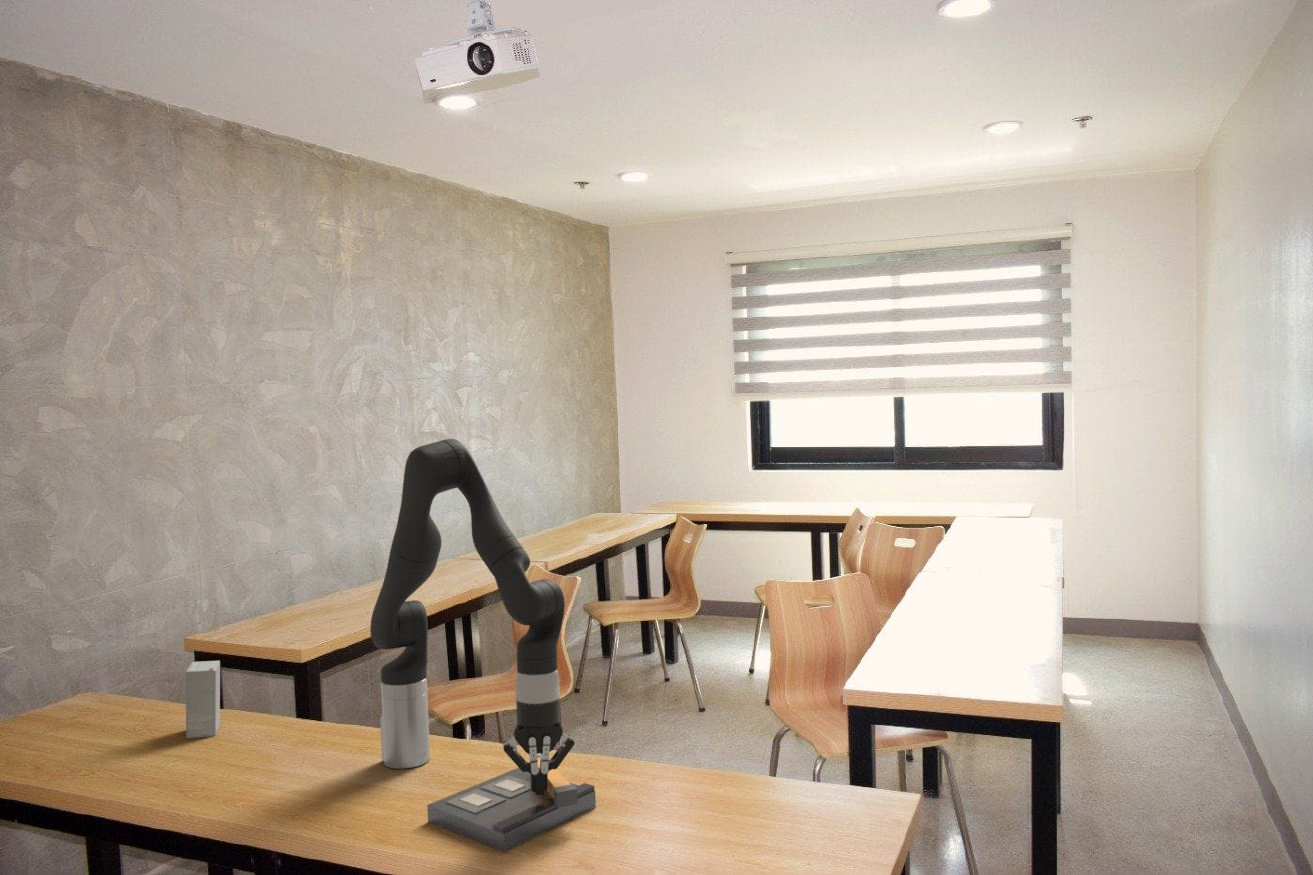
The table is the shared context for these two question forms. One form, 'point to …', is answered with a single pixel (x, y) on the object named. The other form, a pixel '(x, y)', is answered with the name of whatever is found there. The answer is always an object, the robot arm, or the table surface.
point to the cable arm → (560, 788)
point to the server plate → (505, 810)
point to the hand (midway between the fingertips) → (539, 793)
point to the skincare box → (202, 699)
